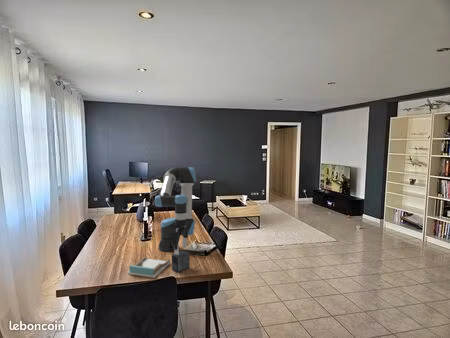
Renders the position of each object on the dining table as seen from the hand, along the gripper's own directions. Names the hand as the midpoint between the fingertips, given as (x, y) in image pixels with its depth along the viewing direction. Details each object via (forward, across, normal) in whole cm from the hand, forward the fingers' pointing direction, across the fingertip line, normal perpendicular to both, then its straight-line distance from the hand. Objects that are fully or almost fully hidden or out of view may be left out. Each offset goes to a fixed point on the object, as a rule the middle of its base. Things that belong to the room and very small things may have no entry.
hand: (180, 250), depth 184 cm
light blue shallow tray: (+12, +4, -20) cm, 24 cm away
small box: (+13, 0, 0) cm, 13 cm away
